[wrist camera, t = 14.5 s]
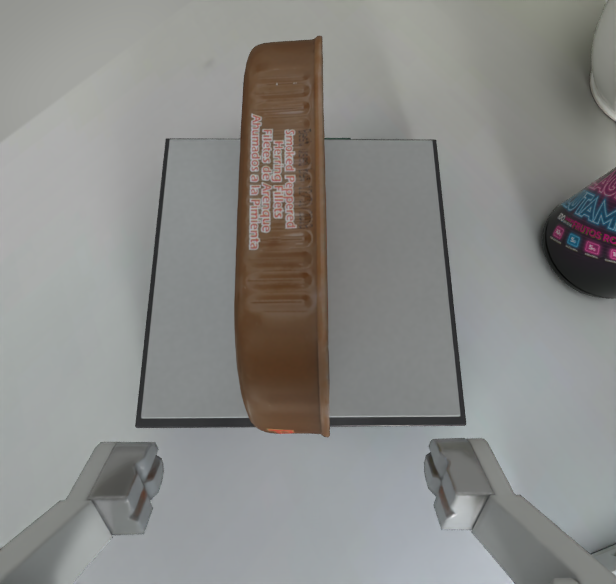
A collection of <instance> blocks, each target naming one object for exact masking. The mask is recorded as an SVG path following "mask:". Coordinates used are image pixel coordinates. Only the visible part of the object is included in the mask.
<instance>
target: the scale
mask: <svg viewBox="0 0 616 584" xmlns="http://www.w3.org/2000/svg"><path fill="white" fill-rule="evenodd" d="M324 146H325V187H326V220H327V282H328V350H329V375H330V389H329V407H330V415H329V419H330V427H357V426H465V425H466V418H465V408H464V399H463V390H462V380H461V371H460V361H459V352H458V342H457V333H456V323H455V314H454V304H453V295H452V285H451V276H450V267H449V257H448V248H447V238H446V229H445V219H444V210H443V200H442V191H441V181H440V172H439V162H438V153H437V144H436V140H385V139H351V138H324ZM239 160H240V139H166V142H165V152H164V161H163V171H162V180H161V190H160V199H159V208H158V218H157V227H156V237H155V246H154V255H153V265H152V274H151V284H150V293H149V303H148V312H147V321H146V331H145V340H144V350H143V359H142V368H141V378H140V387H139V397H138V406H137V416H136V425H135V427H136V428H207V427H255V426H254V425H253V424H252V423H251V421H250V419H249V417H248V414H247V412H246V409H245V406H244V402H243V399H242V395H241V390H240V384H239V377H238V371H237V362H236V348H235V329H234V298H235V267H236V236H237V207H238V183H239Z"/></svg>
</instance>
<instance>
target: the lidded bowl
mask: <svg viewBox="0 0 616 584" xmlns="http://www.w3.org/2000/svg"><path fill="white" fill-rule="evenodd" d="M591 64H592V71H591V74H590V88H591V92H592V94H593V97H594V99H595V101H596V102H597V104H598V106H599V107H600V108H601V109H602V110H603V112H604V113H606V114H607V115H608V116H609V117H610V118H611V119H613V120H614V121H616V0H608V1H607V3H606V5H605V7H604V9H603V12H602V14H601V17H600V19H599V22H598V24H597V27H596V30H595V34H594V39H593V43H592V51H591Z"/></svg>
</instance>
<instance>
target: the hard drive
mask: <svg viewBox="0 0 616 584" xmlns="http://www.w3.org/2000/svg"><path fill="white" fill-rule="evenodd" d="M591 555H592V556H593V557H594V558H595V559H597V560H598V561H599V562H600V563H601V564H602V565H604V566H605V567H606V568H607V569H608V570H610V571H611V572H612V573H613V574H614V575H615V576H616V544H615V545H613V546H610V547H608V548H606V549H603V550H601V551H598V552H596V553H593V554H591Z"/></svg>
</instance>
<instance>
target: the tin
mask: <svg viewBox="0 0 616 584" xmlns="http://www.w3.org/2000/svg"><path fill="white" fill-rule="evenodd" d="M234 329H235V348H236V362H237V371H238V377H239V384H240V390H241V395H242V399H243V402H244V406H245V409H246V412H247V414H248V417H249V419H250V421H251V423H252V424H253V425H254V426H255V427H257V428H258V429H260V430H262V431H265V432H268V433H276V434H288V433H312V434H321V435H323V436H324V437H329V436H330V419H329V415H330V407H329V389H330V375H329V350H328V282H327V220H326V187H325V146H324V115H323V54H322V36H317V37H316V38H315V39H312V40H299V41H283V42H270V43H263V44H260V45H257V46H255V47H254V48H253V49H252V51H251V52H250V54H249V57H248V60H247V63H246V69H245V75H244V85H243V104H242V120H241V138H240V160H239V183H238V207H237V236H236V267H235V298H234Z"/></svg>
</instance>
